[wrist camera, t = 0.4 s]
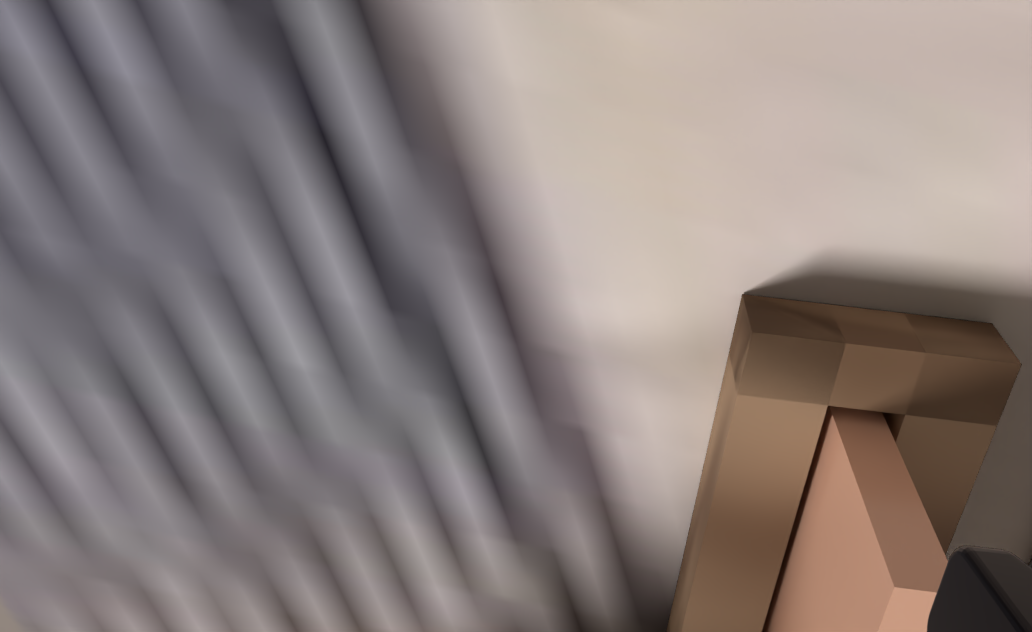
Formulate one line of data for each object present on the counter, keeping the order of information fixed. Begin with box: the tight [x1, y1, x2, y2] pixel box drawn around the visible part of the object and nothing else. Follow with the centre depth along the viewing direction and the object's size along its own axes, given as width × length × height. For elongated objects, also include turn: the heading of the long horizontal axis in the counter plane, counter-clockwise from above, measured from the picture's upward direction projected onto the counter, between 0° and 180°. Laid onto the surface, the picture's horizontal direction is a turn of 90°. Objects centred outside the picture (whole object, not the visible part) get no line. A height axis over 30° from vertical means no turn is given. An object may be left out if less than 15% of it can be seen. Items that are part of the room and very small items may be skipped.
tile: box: [762, 406, 948, 632], centre depth 22 cm, size 8×1×7 cm, turn 175°
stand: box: [666, 294, 1022, 632], centre depth 24 cm, size 12×6×2 cm, turn 175°
